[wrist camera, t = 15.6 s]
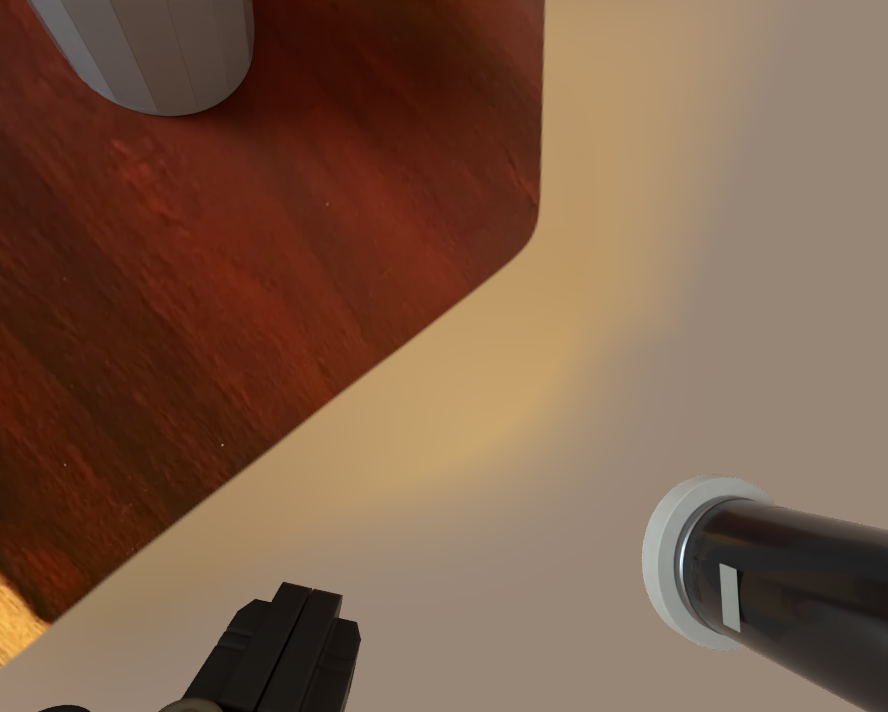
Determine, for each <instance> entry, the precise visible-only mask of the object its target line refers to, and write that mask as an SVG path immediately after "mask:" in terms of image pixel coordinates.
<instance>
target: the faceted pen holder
mask: <svg viewBox="0 0 888 712" xmlns="http://www.w3.org/2000/svg"><path fill="white" fill-rule="evenodd" d="M26 1H27V2H28V4H29V6H30V7H31V9H32V10H33V12H34V13H35V15H36V16H37V18H38V20H39V21H40V23H41V24H42V26H43V27H44V29H45V30H46V32H47V33H48V35H49V37H50V38H51V40H52V41H53V43H54V44H55V46H56V47H57V49H58V50H59V51H60V52H61V54H62V55H63V56H64V58H65V59H66V60H67V62H68V63H69V65H70V66H71V68H72V69H73V70H74V71H75V72H76V74H77V75H78V76H79V77H80V78H81V79H82V80H83V81H84V82H85V83H86V84H87V85H89V86H90V87H91V88H92V89H93V90H95V91H96V92H98V93H99V94H100V95H102V96H103V97H105V98H107V99H109V100H110V101H112V102H114V103H116V104H118V105H121V106H123V107H125V108H128V109H131V110H134V111H137V112H141V113H146V114H151V115H159V116H181V115H187V114H193V113H197V112H200V111H203V110H206V109H208V108H210V107H213V106H215V105H217V104H218V103H220V102H221V101H223V100H225V99H226V98H227V97H228V96H229V95H231V94H232V93H233V92H234V91H235V90H236V88H237V87H238V86H239V85H240V84H241V82H242V81H243V79H244V77H245V76H246V74H247V72H248V69H249V67H250V64H251V60H252V56H253V48H254V36H255V28H254V16H253V4H252V0H26Z"/></svg>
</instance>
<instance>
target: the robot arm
mask: <svg viewBox="0 0 888 712" xmlns="http://www.w3.org/2000/svg"><path fill="white" fill-rule="evenodd" d="M673 567H674V579H675V584H676V588H677V591H678V594H679V597H680V599H681V601H682V603H683V605H684V607H685V608H686V610H687V611H688V612H689V614H690V615H691V616H692V617H693V618H694V619H695V620H696V621H697V622H698V623H700V624H701V625H703V626H704V627H706V628H708V629H710V630H712V631H714V632H716V633H718V634H721V635H725V636H727V637H728V638H730V639H732V640H734V641H736V642H738V643H740V644H741V645H743V646H745V647H747V648H749V649H750V650H752V651H754V652H756V653H758V654H760V655H762V656H763V657H765V658H767V659H769V660H771V661H773V662H775V663H777V664H779V665H780V666H782V667H784V668H786V669H788V670H790V671H792V672H793V673H795V674H797V675H799V676H801V677H803V678H805V679H807V680H809V681H810V682H812V683H814V684H816V685H818V686H820V687H822V688H823V689H826V690H827V691H829V692H831V693H833V694H835V695H837V696H838V697H840V698H842V699H844V700H846V701H848V702H850V703H851V704H854V705H855V706H857V707H859V708H861V709H863V710H865V711H867V712H888V530H885V529H880V528H876V527H871V526H866V525H862V524H857V523H852V522H848V521H843V520H838V519H834V518H829V517H825V516H820V515H815V514H811V513H806V512H801V511H797V510H792V509H788V508H784V507H779V506H774V505H770V504H765V503H760V502H756V501H754V500H752V499H748V498H744V497H739V496H733V495H725V496H719V497H715V498H712V499H710V500H708V501H706V502H705V503H703V504H702V505H700V506H699V507H698V508H697V509H696V510H695V511H694V512H693V513H692V514H691V515H690V516H689V518H688V519H687V521H686V522H685V524H684V526H683V527H682V529H681V532H680V534H679V537H678V539H677V543H676V547H675V552H674V565H673ZM342 597H343V595H339V594H335V593H331V592H326V591H322V590H317V589H314V590H312V588H308V587H304V586H300V585H295V584H291V583H287V582H283V583H282V584H281V586H280V588H279V589H278V591H277V593H276V595H275V596H274V598H273V600H272V602H267V601H262V600H258V599H254V600H253V601H252V602H250V603H249V604H247V605H246V606H245V607H243V608H242V609H240V610H239V611H238V612H237V613H236V615H235V616H234V618H233V619H232V621H231V622H230V624H229V626H228V627H227V630H226V632H224V633H223V635H222V636H221V638H220V640H219V641H218V644H217V646H215V647H214V649H213V650H212V652H211V654H210V655H209V657H208V658H207V660H206V661H205V663H204V664H203V666H202V668H201V669H200V671H199V672H198V674H197V675H196V677H195V678H194V680H193V682H192V683H191V685H190V686H189V688H188V689H187V691H186V692H185V694H184V695H183V697H182V698H181V700H178V701H175V702H173V703H171V704H169V705H167V706H166V707H164V708H162V709H161V710H160V711H159V712H344V710H345V707H346V703H347V699H348V696H349V692H350V688H351V684H352V679H353V674H354V669H355V665H356V660H357V655H358V651H359V646H360V641H361V638H360V634H359V630H358V625H357V622H354V621H349V620H345V619H341V618H339V613H340V609H341V604H342ZM39 712H90V711H89V710H87V709H85V708H83V707H80V706H75V705H61V706H55V707H51V708H47V709H45V710H42V711H39Z"/></svg>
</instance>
